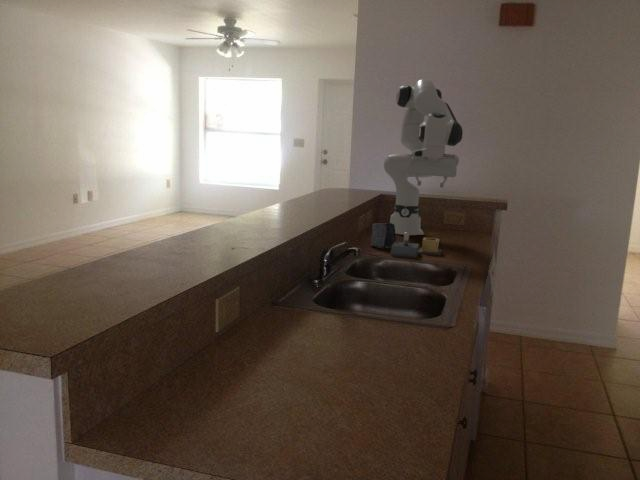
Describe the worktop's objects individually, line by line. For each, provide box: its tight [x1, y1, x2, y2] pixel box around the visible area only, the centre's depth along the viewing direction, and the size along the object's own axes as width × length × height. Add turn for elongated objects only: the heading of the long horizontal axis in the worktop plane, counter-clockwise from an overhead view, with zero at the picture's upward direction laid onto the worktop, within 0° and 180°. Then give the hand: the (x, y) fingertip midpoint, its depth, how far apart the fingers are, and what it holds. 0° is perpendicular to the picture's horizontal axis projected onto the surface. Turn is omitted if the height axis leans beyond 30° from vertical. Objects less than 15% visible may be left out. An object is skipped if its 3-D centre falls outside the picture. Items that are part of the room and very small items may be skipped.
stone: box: [370, 222, 397, 250], centre depth 244 cm, size 12×10×10 cm
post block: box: [390, 232, 420, 259], centre depth 231 cm, size 10×10×9 cm
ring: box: [421, 236, 440, 253], centre depth 239 cm, size 6×6×5 cm
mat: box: [418, 247, 442, 256], centre depth 239 cm, size 9×9×1 cm
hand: (430, 186), depth 239 cm, fingers open, 8 cm apart
